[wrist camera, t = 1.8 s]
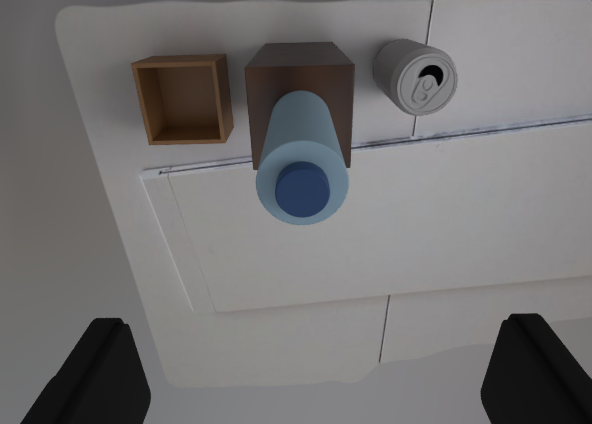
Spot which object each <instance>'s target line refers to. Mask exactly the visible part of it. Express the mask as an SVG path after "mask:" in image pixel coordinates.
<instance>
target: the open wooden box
mask: <svg viewBox="0 0 592 424" xmlns="http://www.w3.org/2000/svg"><path fill="white" fill-rule="evenodd" d="M131 65H132V70H133V74H134V79H135V83H136V88H137V93H138V97H139V102H140V106H141V111H142V115H143V120H144V124H145V129H146V133H147V138H148V142H149V145H173V144H214V143H226V141H227V139H228V137H229V135H230V133H231V132H232V130H233V128H234V126H233V117H232V107H231V98H230V89H229V79H228V70H227V61H226V54H216V55H181V56H151V57H149V58H146V59H143V60H140V61H137V62H134V63H131Z"/></svg>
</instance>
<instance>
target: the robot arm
mask: <svg viewBox="0 0 592 424" xmlns="http://www.w3.org/2000/svg"><path fill="white" fill-rule="evenodd" d="M150 400H151V393H150V389H149V386H148V383H147V380H146V377H145V373H144V370H143V367H142V364H141V361H140V358H139V354H138V351H137V348H136V345H135V342H134V339H133V336H132V332H131V329H130V327H129V325H128V324H124V323H123V321H122V319H121V318H96V319H94V320H93V321H92V322H91V323H90V325H89V327H88V328H87V329H86V331H85V332H84V334H83V335H82V337H81V338H80V340H79V341H78V343H77V344H76V346H75V348H74V349H73V350H72V352H71V353H70V355H69V357H68V358H67V359H66V361H65V362H64V364H63V365H62V367H61V368H60V370H59V371H58V373H57V374H56V376H54V377H53V378H52V379H51V380H50V381H49V383H48V384H47V385H46V387H45V388H44V389H43V391H42V392H41V394H40V395H39V397H38V398H37V400H36V401H35V403H34V404H33V406H32V407H31V409H30V410H29V412H28V413H27V414H26V416H25V417H24V419H23V421H22V422H21V423H20V424H143V421H144V419H145V416H146V414H147V411H148V408H149V405H150ZM481 400H482V404H483V406H484V409H485V411H486V413H487V415H488V417H489V420H490V422H491V424H592V379H591V378H590V377H589V376H588V375H587V373H586V372H585V371H584V370H583V369H582V367H581V366H580V365H579V363H578V362H577V361H576V359H575V358H574V357H573V356H572V354H571V353H570V352H569V350H568V349H567V348H566V347H565V345H564V344H563V343H562V342H561V340H560V339H559V338H558V337H557V335H556V334H555V333H554V331H553V330H552V329H551V327H550V326H549V325H548V324H547V322H546V321H545V320H544V318H543V317H542V316H541V315H539V314H537V313H532V314H511V315H510V316H509V318H508V320H504V321H503V322H502V324H501V327H500V331H499V334H498V337H497V340H496V343H495V347H494V350H493V353H492V356H491V359H490V362H489V366H488V369H487V372H486V375H485V378H484V381H483V385H482V388H481Z"/></svg>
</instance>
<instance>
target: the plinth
mask: <svg viewBox="0 0 592 424" xmlns="http://www.w3.org/2000/svg"><path fill="white" fill-rule="evenodd" d="M354 74H355V64H354V63H353V62H352V61H351V60H350V59H349V58H348V57H347V56H346V55H345V54H344V53H343V52H342V51H341V50H340V49H339V48H338V47H337V46H336V45H335V44H334V43H333V42H308V43H273V44H265V45H264V46H263V47H262V48H261V50H260V51H259V52H258V53H257V54H256V55H255V56H254V58H253V59H252V60H251V61H250V62H249V63H248V65H247V66H246V67H245V79H246V90H247V102H248V114H249V125H250V137H251V148H252V160H253V170H258V168H259V163H260V159H261V155H262V151H263V147H264V143H265V139H266V135H267V131H268V127H269V123H270V119H271V115H272V111H273V108H274V106H275V104H276V103H277V102H278V101H279V99H280V98H282V97H283V96H284V95H286V94H288V93H290V92H293V91H308V92H312V93H314V94H316V95H317V96H319V97H320V98H321V99H322V100H323V101H324V102H325V104H326V105H327V107H328V109H329V112H330V115H331V119H332V122H333V125H334V129H335V132H336V135H337V139H338V142H339V145H340V149H341V152H342V155H343V159H344V162H345V165H346V168H350V162H351V140H352V118H353V96H354Z"/></svg>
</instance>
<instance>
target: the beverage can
mask: <svg viewBox="0 0 592 424" xmlns="http://www.w3.org/2000/svg"><path fill="white" fill-rule="evenodd" d="M373 75H374V79H375V82H376V84H377V85H378V87H379V88H380V89H381V90H382V91H383V92H384V93H385V94H386V95H387V96H388V97H389V98H390V99H391V100H392V102H393V103H394V104H395V105H396V106H397V107H398V108H399V109H401V110H402V111H403V112H405V113H407V114H410V115H416V116H421V115H428V114H432V113H435V112H437V111H439V110H440V109H442V108H443V107H444V106H445V105H446V104H447V103H448V102H449V101H450V100H451V98H452V97H453V95H454V93H455V90H456V87H457V81H458V78H457V71H456V67H455V64H454V62H453V61H452V59H451V58H450V56H449V55H448V54H446V53H445V52H444V51H442V50H440V49H437V48H434V47H430V46H427V45H424V44H421V43H418V42H415V41H412V40H408V39H399V40H395V41H392V42H390V43H389V44H387V45H386V46H385V47H383V48H382V49H381V51H380V52H379V53H378V55H377V57H376V59H375V62H374V67H373Z"/></svg>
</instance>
